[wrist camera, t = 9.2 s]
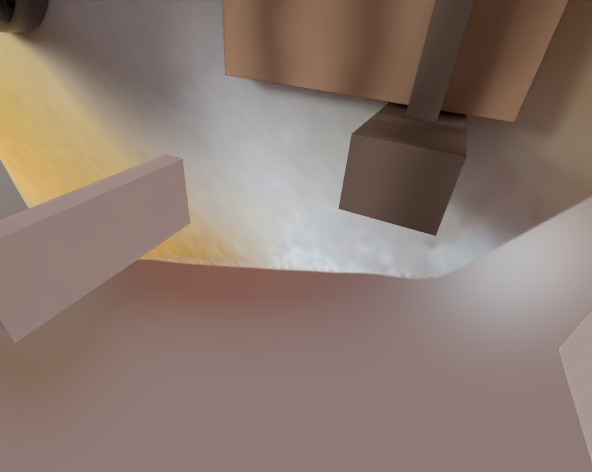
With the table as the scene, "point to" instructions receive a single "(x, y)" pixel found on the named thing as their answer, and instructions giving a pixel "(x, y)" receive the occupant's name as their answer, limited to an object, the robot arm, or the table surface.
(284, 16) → the board
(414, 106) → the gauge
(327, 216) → the table surface
